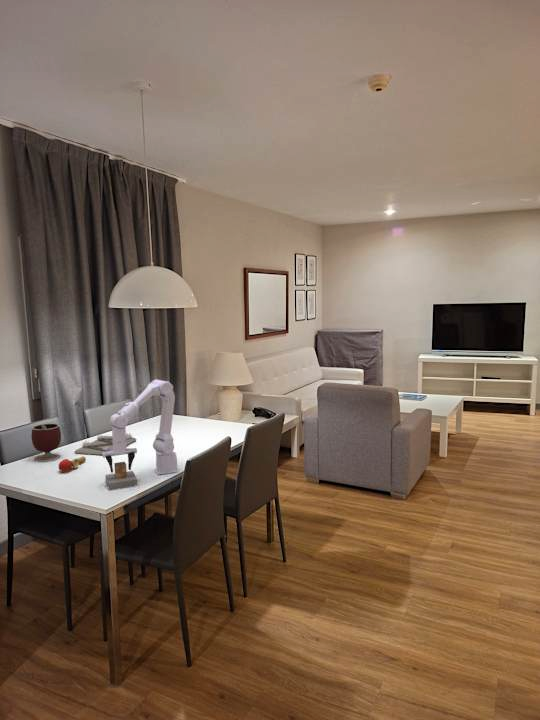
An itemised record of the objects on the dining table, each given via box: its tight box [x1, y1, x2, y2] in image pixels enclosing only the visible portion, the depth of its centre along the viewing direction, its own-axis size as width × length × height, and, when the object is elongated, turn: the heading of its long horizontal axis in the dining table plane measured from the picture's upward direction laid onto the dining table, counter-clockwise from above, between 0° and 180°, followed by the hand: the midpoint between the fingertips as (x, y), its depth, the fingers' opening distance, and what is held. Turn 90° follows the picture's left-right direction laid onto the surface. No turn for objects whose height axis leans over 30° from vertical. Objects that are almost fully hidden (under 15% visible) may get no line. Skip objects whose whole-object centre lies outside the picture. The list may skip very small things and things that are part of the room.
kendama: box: [58, 456, 87, 473], centre depth 246 cm, size 8×6×18 cm
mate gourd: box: [30, 422, 62, 463], centre depth 258 cm, size 16×14×20 cm
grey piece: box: [74, 432, 137, 456], centre depth 280 cm, size 30×22×7 cm
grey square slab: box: [105, 470, 138, 491], centre depth 224 cm, size 12×12×3 cm
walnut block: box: [113, 461, 128, 479], centre depth 223 cm, size 4×4×6 cm
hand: (120, 470), depth 223 cm, fingers open, 7 cm apart
